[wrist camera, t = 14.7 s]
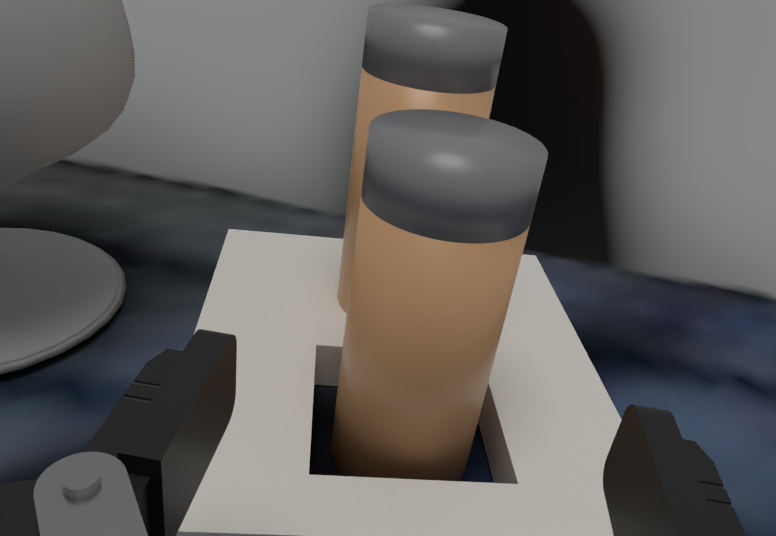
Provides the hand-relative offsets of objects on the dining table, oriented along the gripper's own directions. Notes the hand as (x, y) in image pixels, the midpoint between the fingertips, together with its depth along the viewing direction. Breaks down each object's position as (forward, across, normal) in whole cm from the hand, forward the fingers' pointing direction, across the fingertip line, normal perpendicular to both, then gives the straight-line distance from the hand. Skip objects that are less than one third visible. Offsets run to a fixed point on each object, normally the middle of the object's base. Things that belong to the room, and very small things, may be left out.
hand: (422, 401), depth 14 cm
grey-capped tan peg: (+8, 0, +9) cm, 11 cm away
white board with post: (+11, +1, +9) cm, 14 cm away
